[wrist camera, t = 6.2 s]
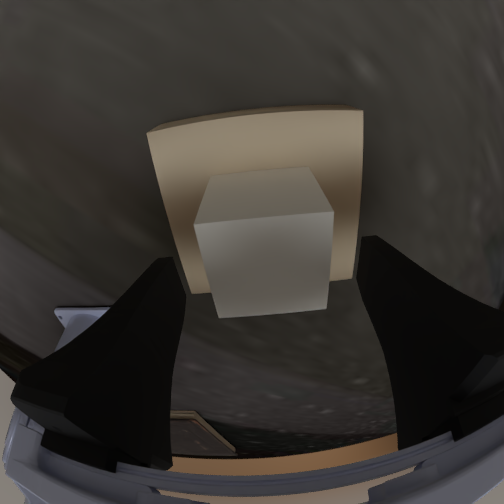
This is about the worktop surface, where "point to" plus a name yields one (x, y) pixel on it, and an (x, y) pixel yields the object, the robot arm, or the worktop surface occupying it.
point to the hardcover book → (196, 436)
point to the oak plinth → (261, 168)
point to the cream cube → (266, 241)
